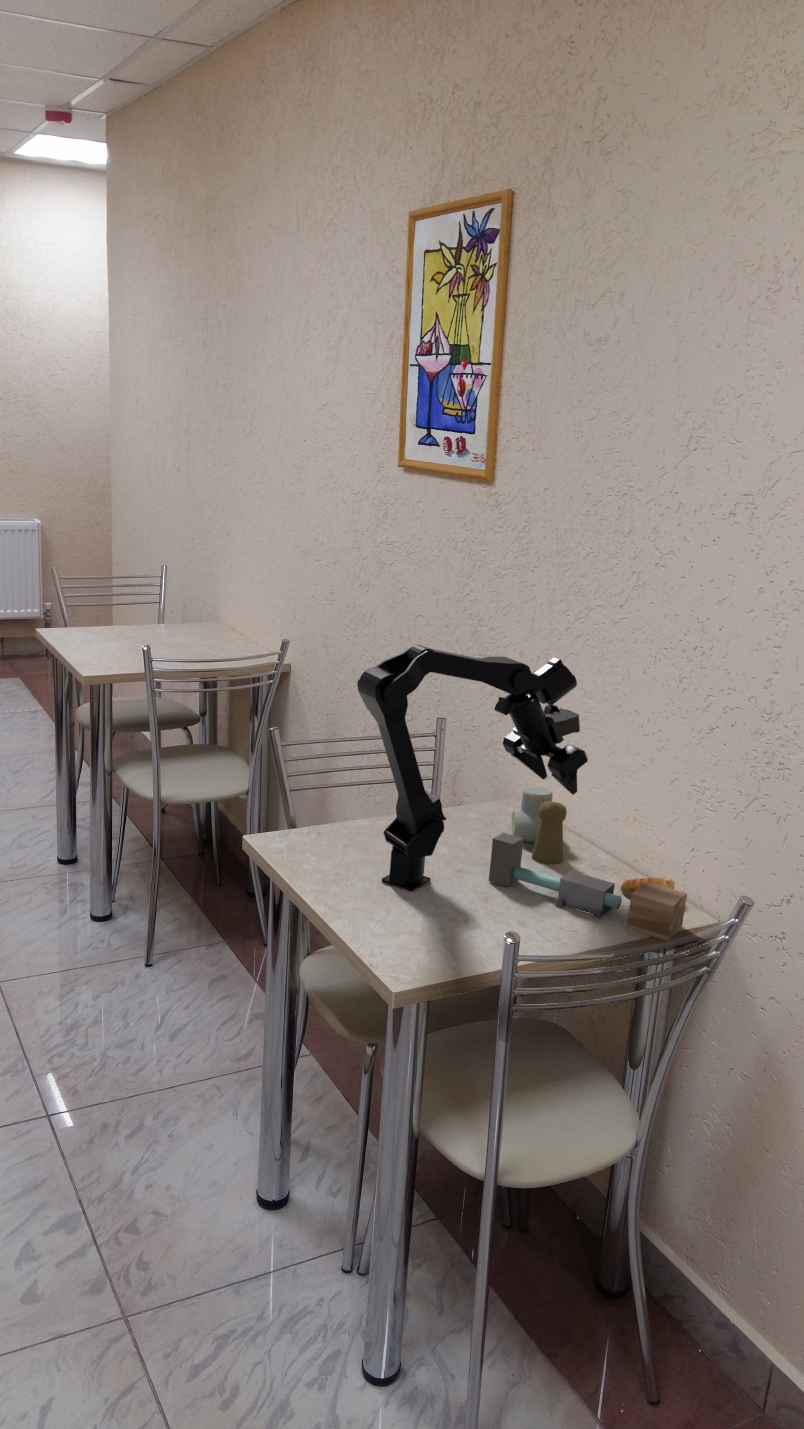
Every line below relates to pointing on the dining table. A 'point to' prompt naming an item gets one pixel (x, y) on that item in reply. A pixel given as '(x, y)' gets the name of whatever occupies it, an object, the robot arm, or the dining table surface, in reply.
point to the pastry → (633, 885)
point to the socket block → (656, 910)
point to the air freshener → (529, 813)
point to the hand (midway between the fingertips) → (559, 785)
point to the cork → (550, 834)
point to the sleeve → (584, 893)
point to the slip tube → (510, 871)
